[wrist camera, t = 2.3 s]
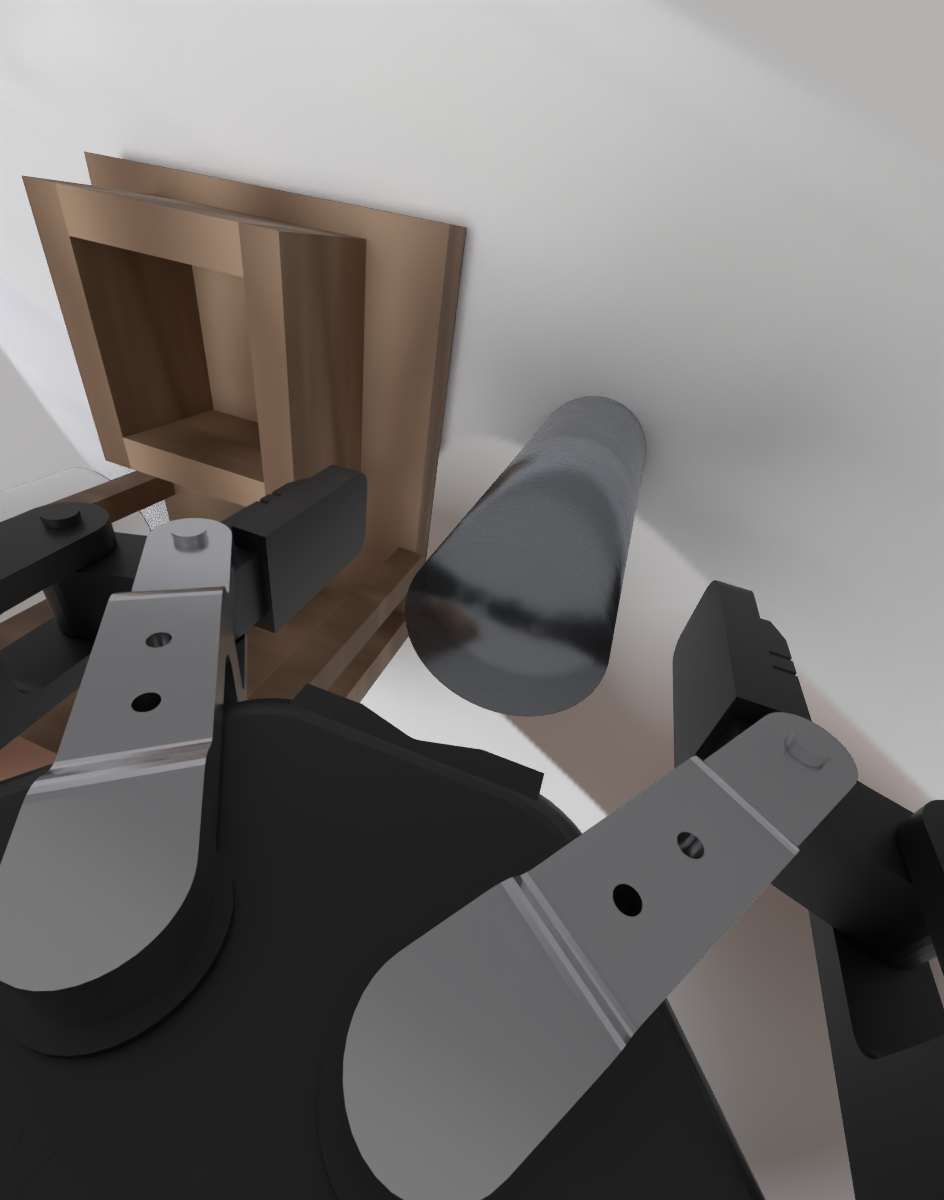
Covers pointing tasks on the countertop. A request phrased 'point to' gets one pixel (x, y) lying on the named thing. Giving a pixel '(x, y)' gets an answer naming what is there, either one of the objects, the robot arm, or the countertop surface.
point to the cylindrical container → (49, 491)
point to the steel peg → (536, 568)
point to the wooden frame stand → (256, 385)
